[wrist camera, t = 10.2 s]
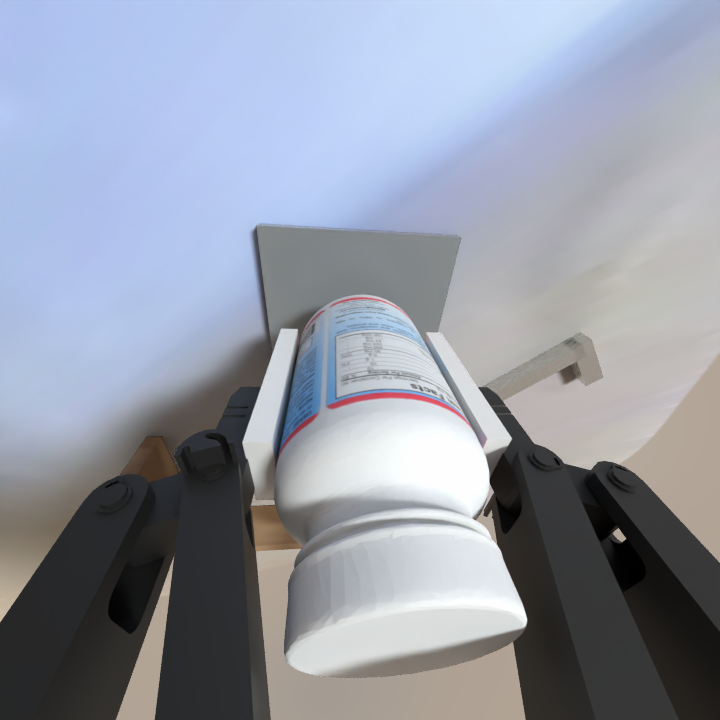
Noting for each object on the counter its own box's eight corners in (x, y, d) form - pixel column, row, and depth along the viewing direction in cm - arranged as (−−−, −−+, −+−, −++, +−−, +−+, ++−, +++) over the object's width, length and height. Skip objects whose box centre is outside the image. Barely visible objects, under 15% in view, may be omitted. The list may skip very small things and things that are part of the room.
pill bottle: (347, 407, 17) (362, 694, 8) (275, 335, 14) (155, 666, 5) (437, 356, 15) (596, 641, 6) (378, 263, 12) (514, 543, 3)
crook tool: (418, 419, 23) (422, 431, 22) (578, 330, 19) (591, 339, 18) (441, 444, 24) (446, 455, 23) (590, 367, 21) (603, 377, 20)
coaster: (278, 384, 19) (276, 390, 19) (259, 223, 14) (256, 225, 13) (420, 385, 20) (423, 390, 20) (456, 235, 15) (461, 237, 14)
